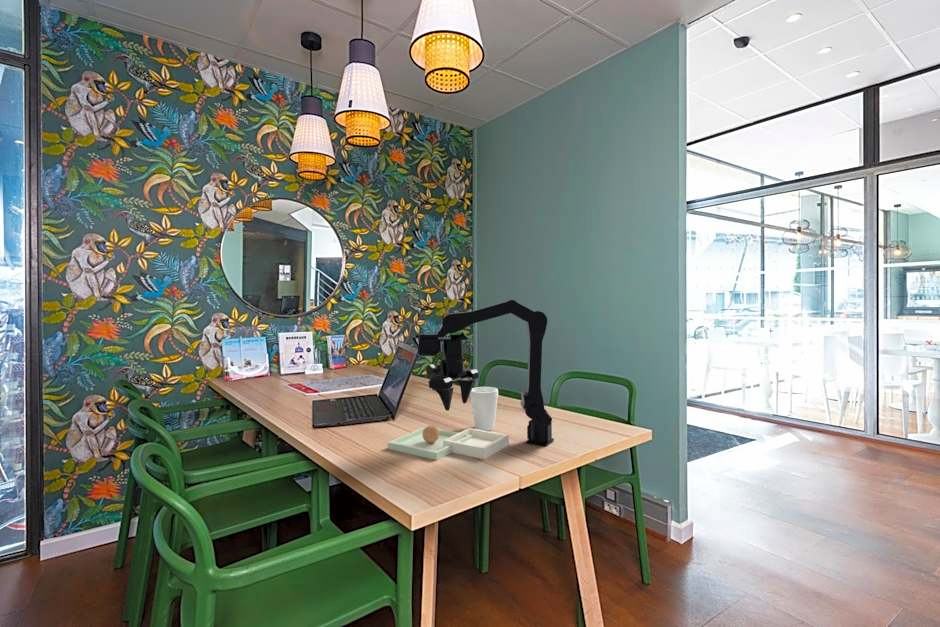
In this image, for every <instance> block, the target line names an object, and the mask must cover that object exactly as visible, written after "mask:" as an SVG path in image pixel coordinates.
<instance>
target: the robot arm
mask: <svg viewBox="0 0 940 627" xmlns="http://www.w3.org/2000/svg"><path fill="white" fill-rule="evenodd" d="M509 314H512V315H514V316H515V317H517V318H519V319H521V320H523V321H524V323H525V328H526V335H527V338H528V352H527V354H528V355H527V381H526V382H527V385H526V390H525V391H523V390H521V391H520V394H521V401H520V406H521V407H522V408H521V409H522V410H523V412H524V413H525V415H526V416H527V417H528V418H529V419H530V420H528V425H527V427H526V428H527V429H526V430H527V432H526V433H527V434H526V438H527V440H526V444H532V445H538V446H542V447H547V446H549V445H550V444H552V442H554V441H555V438H553V437H552V436H553V433H552V432H553V431H552V426H553V424H552V421H553V418H552V416H551V415H550V414H549V412H548V411H547V409H546V408H545V402H544V397H543V393H542V358H543V356H542V354H543V340H544V337H545V334H546V330H547V326H548V317H547V315H546V314H545V312H542V311H540V310H532V309H530V308H528V307H527V306H524V305H523V304H521V303H519V302H518V301H516V300H515V299H508V300H506V301H503V302H500V303H496V304H493V305H489V306H485V307H482V308H478V309H475V310H471V311H461V312H460V311H459V312H451V313H448V314H446V315H444V317H443V318H442V321H441V325H442V326H441V327H440V330H438V331H437V333H427V334H426V333H420V334H418V345H417V350H418V357H419V358H421V357H423V358H424V357H426V358H427V357H438V356H439V354H440V353H442V351H443V358H441V360H440V364H438V365H435V364H434V363H432V364H428V365H426V368H425V372H426V376H428V377H430V379H429V380H428V388H429V389H431V390H432V391H435V392H436V393H437V395H439V397H440V400H441V402H442V405H443V408H444V410H445V411H450V408H451V405H452V398H453V392H454V387H453V384H454V382H457V383H458V384H459V386H460V395H461V401H462V403H463V404H467V402H468V399H469V397H470V392H471V390H472V388H474V386H475V384H476V382H477V380H478V379H479V378H480V377H479V371H478V370H477V368H466V367H464V366H465V365H464V362H467V357H464V350H463V346H464V345H463V341H464V340H465V341H467V340H469V336H467V335H466V334H465V333H464V331H462V330H463V329H466V328H469V327H470V326H472V325H475V324H476V323H480V322H483V321H487V320H490V319H493V318H497V317H502V316H504V315H509ZM460 331H461V332H460ZM457 332H460V334H455V333H457ZM448 334H450V337H446V336H447V335H448ZM442 342H443V350H442Z"/></svg>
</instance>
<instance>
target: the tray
mask: <svg viewBox="0 0 940 627" xmlns="http://www.w3.org/2000/svg"><path fill="white" fill-rule="evenodd" d="M426 427H427V426H424V427H421V428H419V429H417V430H414V431H411V432H409V433H407V434H404V435H401V436H399V437H398V438H397V437H396V438H395V439H392V440H390V441H387V450H392V451H395V452H400V453H403V454H408V455H412V456H417V457H421V458H425V459H430V460H435V461H438V460H441V459H442V458H445V457H446V456H448V455H449V454H453V453H452V446H451V445H448V446H446V447H444V448H443V440H445V439H447V438H449V437H451V436H453V435H455V434H458V433H459V432H457V431H452V430H446V429H441V428H437V429H438V431H439V438H438V439H437V441H435V442H433V443H428V442H426V441H425V440H424V439H423V435H422V433H423V430H424V429H425V428H426ZM470 439H472V435H469V434H466V435H465V437H464V438H462V439H460V440H458V441H456V442H461V443H464V442H466V441H468V440H470Z"/></svg>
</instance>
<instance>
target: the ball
mask: <svg viewBox="0 0 940 627" xmlns="http://www.w3.org/2000/svg"><path fill="white" fill-rule="evenodd" d="M425 427H426V428H425V429H424V430H423V433H422V435H423V439H424V440H425V441H426V442H428V443H433V442H435V441H437V439H438V438H439V431H438V429H439V428H437V427H436V426H434V425H428V426H425Z"/></svg>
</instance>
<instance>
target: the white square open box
mask: <svg viewBox="0 0 940 627" xmlns="http://www.w3.org/2000/svg"><path fill="white" fill-rule="evenodd" d="M466 434H469V435H472V439H470V440H468V441H466V442H464V443H461V442H456V441H458V440H460V439H462V438H464V437H465V435H466ZM509 438H510V435H509V434H506V433H501V432H494V431H491V430H489V431H484V430H478V429H476V428H470V427H469V428H466V429H464V430H462V431H460V432H458V434H455V435H453V436H451V437H449V438H447V439H445V440H443V448H444V447H446V446H448V445H451V446H452V453H451V454H458V455H462V456H467V457H471V458H477V459H481V460H487V459H488V458H490V457H491V456H493V455H494V454H496V453H498V452H500V451H502V450H503V449H504V448H506V447H508V446H509V445H510V439H509Z"/></svg>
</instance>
